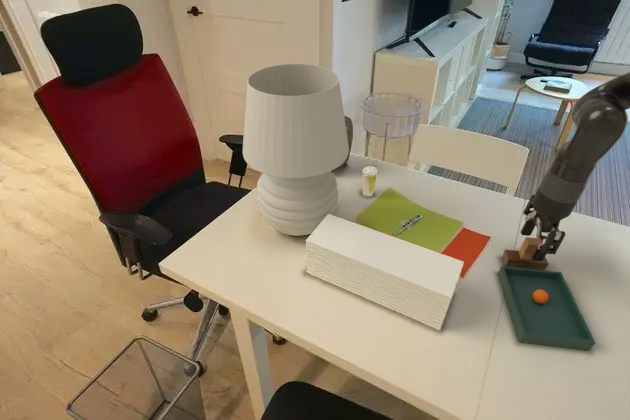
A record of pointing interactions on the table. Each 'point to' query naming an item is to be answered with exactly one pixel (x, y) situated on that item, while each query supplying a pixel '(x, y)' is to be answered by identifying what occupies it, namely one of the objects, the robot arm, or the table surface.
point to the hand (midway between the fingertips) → (530, 246)
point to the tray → (544, 309)
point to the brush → (524, 256)
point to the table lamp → (295, 143)
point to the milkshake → (369, 180)
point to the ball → (540, 296)
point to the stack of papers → (383, 269)
